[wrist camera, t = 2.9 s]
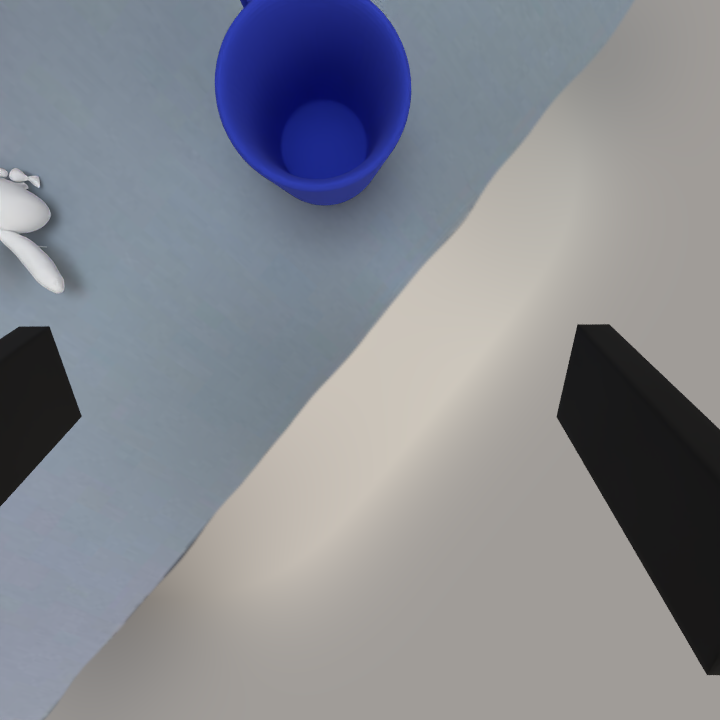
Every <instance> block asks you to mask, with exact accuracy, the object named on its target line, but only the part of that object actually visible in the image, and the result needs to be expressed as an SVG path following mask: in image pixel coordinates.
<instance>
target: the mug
mask: <svg viewBox="0 0 720 720" xmlns="http://www.w3.org/2000/svg"><path fill="white" fill-rule="evenodd" d="M240 1H241V3H242V5H243V8H244V9H243V10H242V11H241V12H240V13H239V15H238V16H237V17H236V18H235V20H234V21H233V23H232V24H231V26H230V28H229V29H228V31H227V33H226V35H225V37H224V40H223V42H222V45H221V48H220V51H219V55H218V59H217V64H216V72H215V94H216V101H217V107H218V111H219V115H220V118H221V121H222V124H223V127H224V129H225V131H226V133H227V135H228V137H229V139H230V141H231V142H232V144H233V146H234V147H235V149H236V150H237V151H238V153H239V154H240V155H241V156H242V158H243V159H244V160H245V161H246V162H247V163H248V164H249V165H250V166H251V167H252V168H253V169H255V170H256V171H257V172H258V173H260V174H261V175H262V176H264V177H265V178H267V179H268V180H270V181H271V182H273V183H274V184H276V185H277V186H279V187H280V188H282V189H283V190H285V191H286V192H288V193H289V194H291V195H293V196H294V197H296V198H298V199H300V200H302V201H305V202H307V203H311V204H315V205H334V204H339V203H342V202H345V201H347V200H349V199H351V198H353V197H355V196H356V195H357V194H359V193H360V192H361V191H362V190H363V189H364V188H365V187H366V186H367V185H368V184H369V183H370V182H371V180H372V179H373V177H374V176H375V175H376V173H377V172H378V170H379V169H380V168H381V166H382V165H383V163H384V162H385V161H386V159H387V158H388V156H389V155H390V154H391V152H392V151H393V149H394V148H395V146H396V144H397V142H398V141H399V139H400V137H401V134H402V132H403V130H404V127H405V124H406V121H407V117H408V113H409V108H410V100H411V77H410V69H409V64H408V60H407V56H406V53H405V50H404V47H403V45H402V42H401V40H400V38H399V36H398V34H397V32H396V30H395V29H394V27H393V26H392V24H391V23H390V21H389V20H388V19H387V18H386V16H385V15H384V14H383V13H382V11H381V10H380V9H379V8H378V7H377V6H376V5H374V4H373V3H372V2H371V1H370V0H240Z"/></svg>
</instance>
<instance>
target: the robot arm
mask: <svg viewBox="0 0 720 720" xmlns="http://www.w3.org/2000/svg"><path fill="white" fill-rule="evenodd" d="M81 417H82V416H81V413H80V411H79V408H78V405H77V402H76V399H75V397H74V394H73V391H72V388H71V385H70V383H69V380H68V377H67V374H66V372H65V369H64V366H63V363H62V360H61V358H60V355H59V352H58V349H57V346H56V344H55V341H54V338H53V335H52V333H51V330H50V327H18V328H16V329H15V330H13V331H12V332H10V333H9V334H7V335H6V336H4V337H3V338H1V339H0V506H1V505H2V504H3V503H4V502H5V501H6V500H7V499H8V497H9V496H10V495H11V494H12V493H13V492H14V491H15V490H16V489H17V487H18V486H19V485H20V484H21V483H22V482H23V481H24V480H25V479H26V478H27V476H28V475H29V474H30V473H31V472H32V471H33V470H34V469H35V468H36V466H37V465H38V464H39V463H40V462H41V461H42V460H43V459H44V458H45V456H46V455H47V454H48V453H49V452H50V451H51V450H52V449H53V448H54V447H55V445H56V444H57V443H58V442H59V441H60V440H61V439H62V438H63V437H64V435H65V434H66V433H67V432H68V431H69V430H70V429H71V428H72V427H73V425H74V424H75V423H76V422H77V421H78V420H79V419H80V418H81ZM557 418H558V420H559V422H560V423H561V425H562V427H563V428H564V430H565V432H566V434H567V435H568V437H569V439H570V440H571V442H572V444H573V446H574V447H575V449H576V451H577V453H578V454H579V456H580V458H581V459H582V461H583V463H584V465H585V466H586V468H587V470H588V471H589V473H590V475H591V477H592V478H593V480H594V482H595V484H596V485H597V487H598V489H599V490H600V492H601V494H602V496H603V497H604V499H605V501H606V502H607V504H608V506H609V508H610V509H611V511H612V513H613V514H614V516H615V518H616V520H617V521H618V523H619V525H620V526H621V528H622V530H623V532H624V533H625V535H626V537H627V538H628V540H629V542H630V543H631V545H632V547H633V549H634V550H635V552H636V553H637V556H638V557H639V559H640V560H641V562H642V564H643V566H644V568H645V569H646V571H647V573H648V574H649V576H650V578H651V579H652V581H653V583H654V585H655V586H656V588H657V590H658V591H659V593H660V595H661V597H662V598H663V600H664V602H665V604H666V605H667V607H668V609H669V610H670V612H671V614H672V615H673V617H674V619H675V621H676V622H677V624H678V626H679V628H680V629H681V631H682V633H683V634H684V636H685V638H686V640H687V641H688V643H689V645H690V646H691V648H692V650H693V652H694V653H695V655H696V657H697V658H698V660H699V662H700V664H701V665H702V667H703V669H704V670H705V672H706V674H707V675H720V429H719V428H717V427H716V426H715V425H714V424H713V423H712V422H711V421H710V420H709V419H708V418H707V417H706V416H705V415H704V414H703V413H702V412H701V411H700V410H698V408H696V407H695V406H694V405H693V404H692V403H691V402H690V401H689V400H688V399H687V398H686V397H685V396H684V395H683V394H682V393H681V392H680V391H679V390H677V388H675V387H674V386H673V385H672V384H671V383H670V382H669V381H668V380H667V379H666V378H665V377H664V376H663V375H662V374H661V373H660V372H659V371H658V370H656V369H655V368H654V367H653V366H652V365H651V364H650V363H649V362H648V361H647V360H646V359H645V358H644V357H643V356H642V355H641V354H640V353H638V352H637V350H636V349H634V348H633V347H632V346H631V345H630V344H629V343H628V342H627V341H626V340H625V339H624V338H623V337H622V336H621V335H620V334H619V333H618V332H617V331H615V329H613V328H612V327H611V326H610V325H609V324H607V325H606V324H605V325H604V324H603V325H577V330H576V334H575V338H574V343H573V347H572V351H571V356H570V360H569V364H568V369H567V373H566V378H565V382H564V386H563V391H562V395H561V400H560V404H559V409H558V413H557Z"/></svg>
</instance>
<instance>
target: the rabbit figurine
mask: <svg viewBox="0 0 720 720" xmlns="http://www.w3.org/2000/svg"><path fill="white" fill-rule="evenodd" d="M7 175H8V172H7V171H6V170H5V169H2V168H0V177H7ZM9 177H10V179H11V180H12V181H14V182H23V181H27V180H29V181H30V182H31V183H32V184H33V185H35V186H36V187H38V188H39V187H40V180H39V177H38V176H29V177H27V176H26V175H25V174H24V173H23V172H22V171H21V170H19V169H17V168H13V169H12V170H11V172H10V174H9ZM12 181H9V180H6V179H5V178H0V240H1V241H2V242H3V243H4V244H5V245H6V246H7V247H8V248H9V249H10V250H11V251H12V252H13V253H14V254H15V255H16V256H17V257H18V258H19V260H20V261H21V262H22V263H23V264H24V266H25V267H26V268H27V270H28V271H29V272H30V273H31V275H32V276H33V277H34V278H35V280H36V281H37V282H38V283H39V284H41V285H42V286H44V287H45V288H46V289H48V290H50V291H52V292H54V293H62V292H63V291H64V289H65V283H64V279H63V277H62V276H61V274H60V272H59V271H58V269H57V267H56V265H55V264H54V262H53V261H52V259H51V258H50V257H49V256H48V255H47V254H46V253H45V252H44V251H43V250H42V249H41V248H40V247H45V246H37V245H36V244H35V243H34V242H33V241H31V240H30V239H28V238H26V237H24V236H21V235H19V234H22V233H30V232H33V231H36V230H38V229H40V228H42V227H43V226H44V225H45V224H46V223H48V221H49V219H50V217H51V213H50V209H49V207H48V206H47V205H46V204H45V202H44V201H43V200H42V199H40V198H39V197H37V196H36V195H34V194H33V193H31V192H29V191H28V190H26V189H28V186H27V185H26V184H25V183H24V182H23V183H14V182H12Z"/></svg>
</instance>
